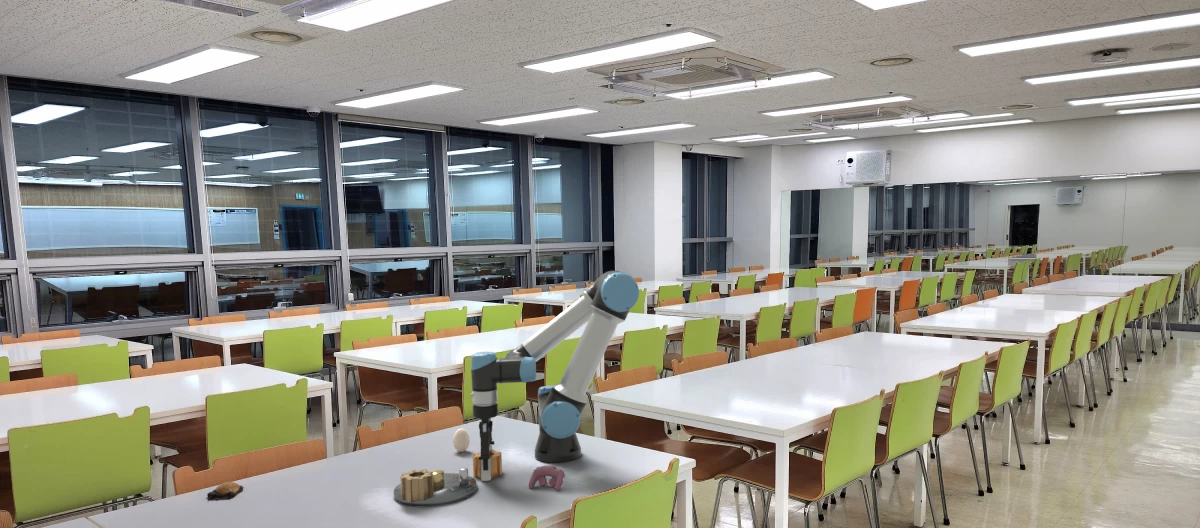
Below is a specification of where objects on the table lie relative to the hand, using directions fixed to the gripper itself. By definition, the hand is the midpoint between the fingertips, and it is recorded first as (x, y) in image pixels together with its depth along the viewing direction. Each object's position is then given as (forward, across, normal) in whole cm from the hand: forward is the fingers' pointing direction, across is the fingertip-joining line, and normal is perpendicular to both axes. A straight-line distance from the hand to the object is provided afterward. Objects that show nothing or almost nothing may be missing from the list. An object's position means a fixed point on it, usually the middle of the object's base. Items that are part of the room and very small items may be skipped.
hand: (487, 473), depth 222 cm
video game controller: (0, +15, +18) cm, 23 cm away
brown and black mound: (+1, +3, -75) cm, 75 cm away
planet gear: (0, 0, 0) cm, 0 cm away
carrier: (0, +13, -14) cm, 19 cm away
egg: (0, -25, -10) cm, 27 cm away
